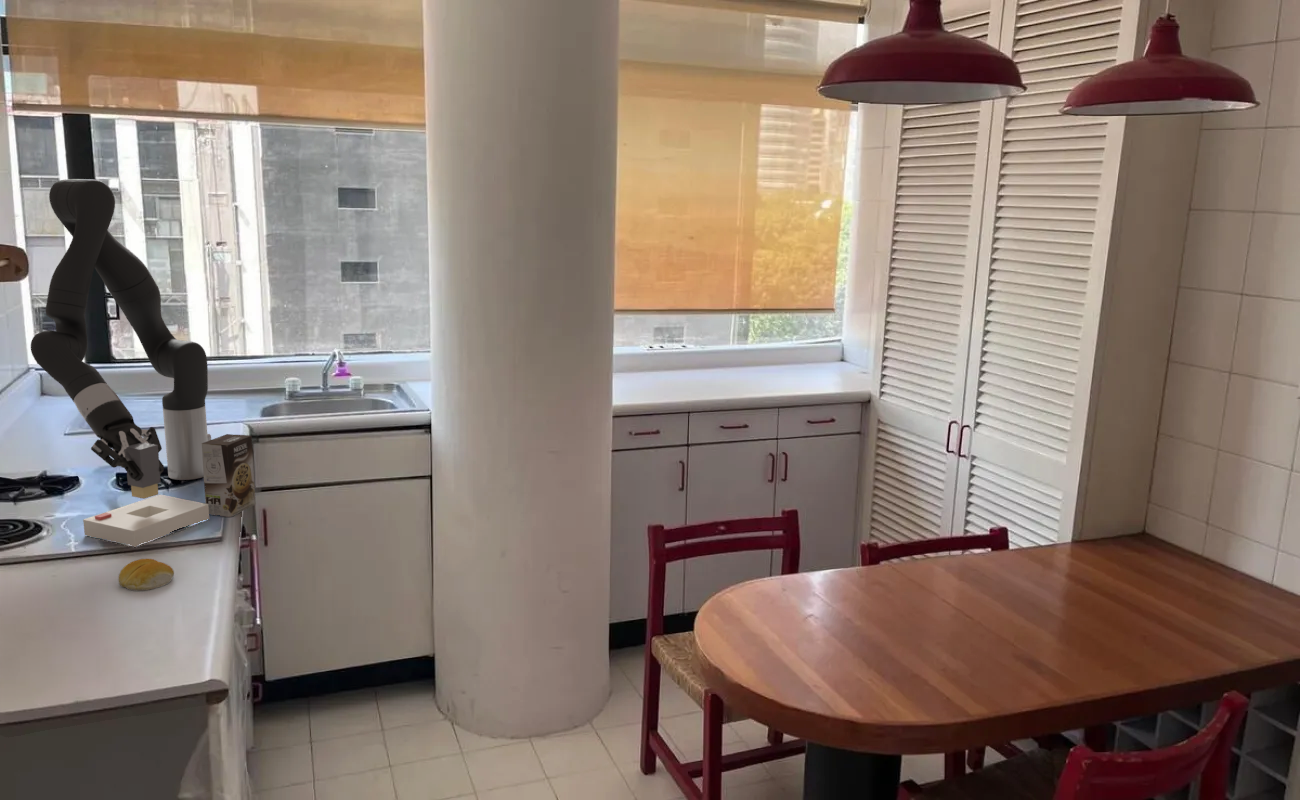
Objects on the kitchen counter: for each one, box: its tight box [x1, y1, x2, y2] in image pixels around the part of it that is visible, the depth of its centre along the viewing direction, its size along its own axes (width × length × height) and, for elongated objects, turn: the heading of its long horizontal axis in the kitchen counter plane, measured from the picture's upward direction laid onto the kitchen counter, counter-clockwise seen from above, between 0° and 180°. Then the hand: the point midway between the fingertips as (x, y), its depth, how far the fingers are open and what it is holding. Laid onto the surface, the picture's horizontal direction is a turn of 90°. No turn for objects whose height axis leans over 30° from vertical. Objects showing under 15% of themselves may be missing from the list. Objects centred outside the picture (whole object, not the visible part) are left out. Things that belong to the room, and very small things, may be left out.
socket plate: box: [82, 494, 210, 548], centre depth 193 cm, size 18×14×4 cm
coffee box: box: [202, 433, 256, 518], centre depth 204 cm, size 9×6×16 cm
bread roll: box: [117, 558, 175, 592], centre depth 168 cm, size 8×9×4 cm
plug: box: [126, 443, 161, 500], centre depth 191 cm, size 4×4×10 cm
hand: (150, 475), depth 190 cm, fingers closed on plug, 4 cm apart
